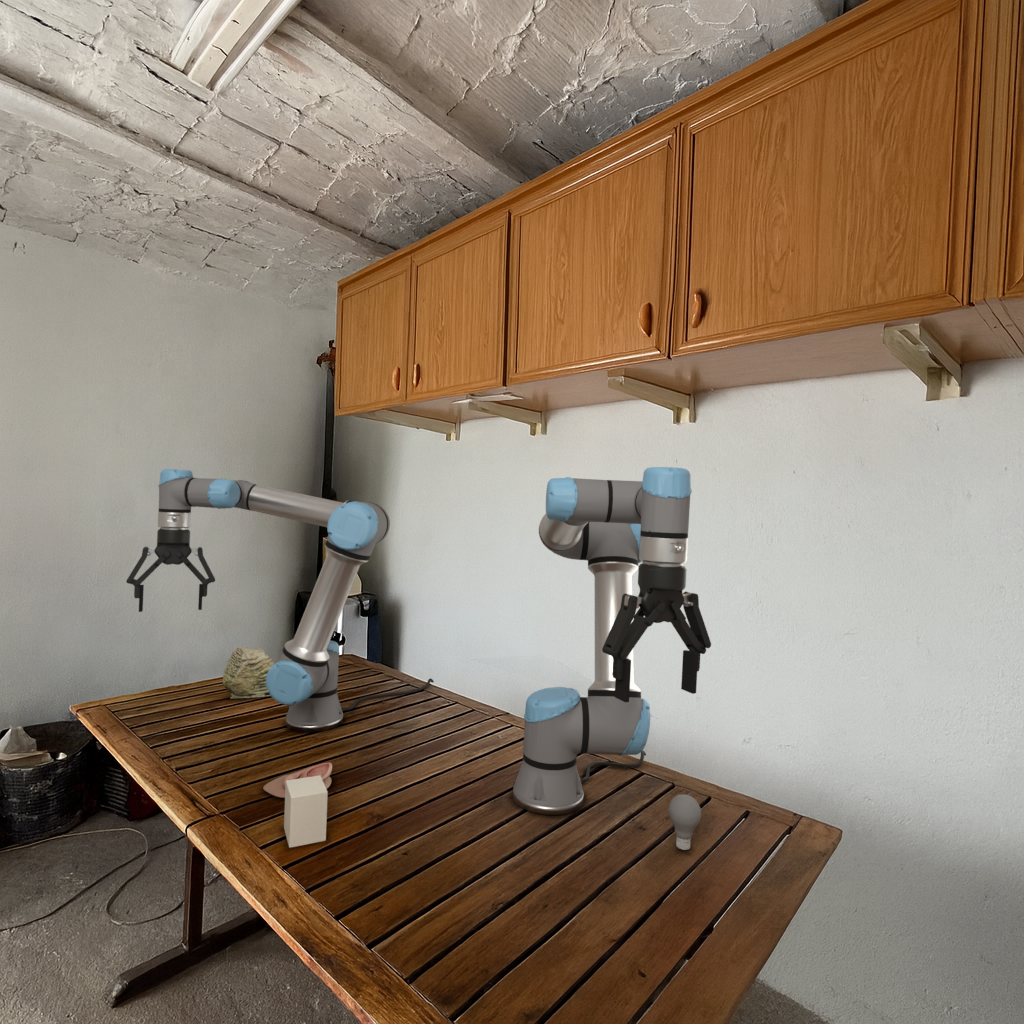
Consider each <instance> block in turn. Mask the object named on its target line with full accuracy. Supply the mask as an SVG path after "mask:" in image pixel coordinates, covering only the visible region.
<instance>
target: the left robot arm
mask: <svg viewBox="0 0 1024 1024" xmlns="http://www.w3.org/2000/svg"><path fill="white" fill-rule="evenodd" d="M195 507H196V508H197V507H198V508H207V509H208V508H209V509H210V508H211V509H218V510H220V509H223V510H225V509H232V508H235V509H241V510H246V511H251V512H256V513H257V512H258V513H261V514H265V515H270V516H274V517H279V518H283V519H288V520H292V521H297V522H301V523H305V524H310V525H315V526H319V527H322V528H323V527H324V528H326V529H327V534H328V535H327V537H326V540H325V543H324V547H325V551H326V552H327V554H326V557H325V559H324V562H323V565H322V567H321V569H320V572H319V575H318V577H317V579H316V582H315V584H314V586H313V590H312V592H311V595H310V597H309V599H308V601H307V604H306V607H305V610H304V612H303V614H302V617H301V619H300V622H299V625H298V627H297V630H296V631H295V635H294V636H293V638H292V639H290V640H288V641H286V642H285V644H284V646H283V648H282V650H281V654H280V656H279V657H278V661H277V662H274V663H275V664H274V665H273V666H272V667H271V668H270V670H269V671H268V673H267V676H266V687H267V690H268V691H269V693H270V695H271V696H270V697H271V698H272V699H273V700H274V701H275V702H277V703H279V704H280V705H284V706H289V708H288V711H287V713H286V715H285V726H286V728H287V729H289V730H291V731H294V732H295V731H296V732H301V733H316V732H325V731H329V730H332V729H335V728H337V727H339V726H340V725H342V723H343V722H344V713H343V711H344V712H345V711H351V710H353V709H354V708H355V707H356V705H357V704H359V703H360V702H363V701H368V700H370V699H371V700H372V699H377V698H383V697H392V696H400V695H406V694H407V695H408V694H412V693H416V692H419V691H423V690H425V689H427V688H428V687H429V685H430V684H431V683H434V681H435V680H434V679H432V678H431V677H430V678H429V679H428V680H427V682H426V684H425V685H423V686H421V687H417V688H413V689H409V690H404V691H393V692H384V693H377V694H372V695H367V696H363V697H360V698H357V699H356V700H355V701H354V702H353V703H352V704H351V705H350V706H341V702H340V699H339V695H338V682H339V662H340V661H339V660H340V659H339V657H340V645H339V643H338V642H337V641H335V640H331V639H332V637H333V634H334V631H335V629H336V626H337V624H338V621H339V619H340V616H341V615H342V614H341V613H342V612H343V609H344V606H345V604H346V602H347V599H348V597H349V594H350V592H351V589H352V586H353V584H354V581H355V579H356V576H357V574H358V572H359V569H360V567H361V565H363V564H365V563H368V562H369V560H370V558H371V556H372V553H373V550H374V548H375V546H376V544H379V543H381V542H382V541H384V539H385V538H387V535H388V533H389V531H390V527H391V520H390V516H389V514H388V512H387V510H386V509H384V508H383V506H381V505H379V504H378V503H375V502H371V501H356V500H355V501H354V500H349V499H347V500H345V501H344V502H342V501H337V500H332V499H327V498H324V497H318V496H313V495H309V494H304V493H299V492H295V491H290V490H285V489H279V488H276V487H271V486H266V485H262V484H256V483H254V482H251V481H248V480H242V479H239V480H234V479H228V478H204V477H203V478H201V477H200V478H199V477H194V476H193V471H192V470H189V469H177V468H176V469H174V468H164V469H162V470H161V471H160V473H159V483H158V511H157V527H158V528H159V529H158V530H157V536H156V547H148V546H143V548H142V552H141V556H140V558H139V559H138V561H137V563H136V564H135V566H134V567H133V569H132V571H131V572H130V574H129V575H128V577H127V579H126V581H125V582H126V583H127V584H128V585H133V587H134V589H133V590H134V591H133V597H134V599H138V613H141V612H142V613H143V611H144V588H145V587H144V584H142V583H143V582H145V580H146V579H147V578H148V577H149V576H151V574H152V573H154V571H155V570H156V569H158V567H159V566H160V565H161V564H164V565H166V566H167V565H182V564H183V565H185V567H187V568H188V570H189V571H190V572H191V573H192V574H193V575H194V576H195V577H196V578H197V579H198V580H199V581H200V583H199V584H198V606H197V607H198V608H197V610H198V611H202V610H203V598H204V597H207V596H208V586H209V584H211V583H215V582H216V578H215V576H214V574H213V572H212V570H211V568H210V566H209V564H208V562H207V561H206V558H205V556H204V551H203V547H202V546H197V547H194V548H193V547H192V548H191V546H190V545H191V542H190V541H191V530H190V529H189V528H190V527H191V525H192V523H191V520H192V508H195ZM153 553H154V554H155V555H156V556H157V559H156V560H155V561H154V562H153V563H152V564H151V565H150V566H149V567H148V568H147V569H146V570H145V571H144V572H143V573H142V574H140V576H139V577H138V578H137V579H135V577H136V576H137V574H138V572H140V569H141V568H142V566H143V565H144V563H145V561H146V560H147V557H150V556H151V555H152V554H153ZM192 553H193V555H194V556H195V557H198V560H199V562H200V564H201V566H202V567H203V570H204V571H205V574H206V575H207V577H208V578H206V577H205V576H204V575H203V574H202V573H201V572H200V571H199V569H197V567H196V566H195V565H194V564H193V563H192V562H191V560H190V559H188V557H189V556H190V555H191V554H192Z"/></svg>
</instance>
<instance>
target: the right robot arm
mask: <svg viewBox="0 0 1024 1024" xmlns="http://www.w3.org/2000/svg"><path fill="white" fill-rule="evenodd" d="M691 480H692V479H691V473H690V471H689V470H688V469H686V468H683V467H670V466H669V467H668V466H652V467H651V466H649V467H647V468H645V469H644V471H643V474H642V480H641V481H640V480H617V479H615V480H614V479H597V478H596V479H595V478H593V479H592V478H573V477H570V476H565V477H553V478H550V479H549V480H548V481H547V485H546V491H545V514H544V515H543V516H542V517H541V519H540V522H539V525H538V535H539V539H540V541H541V543H542V544H543V546H545V548H546V549H548V550H549V551H550V552H552V553H553V554H555V555H557V556H560V557H563V558H564V559H569V560H575V561H576V560H578V561H587V570H588V571H589V572H590V573H591V574H593V577H594V681H593V683H591V684H590V686H589V687H588V688H587V696H581V694H580V692H579V690H577V689H576V688H573V687H567V686H552V687H545V688H542V689H538V690H536V691H533V692H532V693H531V694H530V695H528V697H527V698H526V701H525V709H524V714H523V720H524V732H523V750H522V763H521V765H520V768H519V770H518V773H517V776H516V778H515V780H514V782H513V783H512V799H513V801H514V802H515V804H516V805H517V806H519V807H520V808H522V809H524V810H525V811H528V812H531V813H533V814H538V815H544V816H561V815H563V816H564V815H569V814H571V813H574V812H577V810H579V809H580V808H581V807H582V806H583V804H584V796H585V795H584V794H585V792H584V789H583V788H584V787H583V784H582V783H586V782H587V781H588V780H589V778H590V771H591V769H592V768H594V767H599V766H604V767H605V766H606V767H615V768H625V769H633V768H637V767H640V766H641V765H642V764H643V762H644V759H645V756H647V752H646V751H645V750H644V749H645V747H646V745H647V742H648V739H649V734H650V726H651V710H650V703H649V701H648V700H647V699H645V698H642V690H641V688H640V687H639V686H638V685H637V684H636V682H635V676H634V672H635V671H634V670H635V669H634V648H635V647H636V644H638V642H639V641H640V640H641V638H642V637H643V635H644V634H645V632H646V631H647V629H648V628H649V627H651V626H653V624H654V623H655V624H661V623H664V622H665V623H670V624H671V625H672V627H673V628H674V629H675V631H676V633H677V635H678V636H679V637H680V639H681V641H682V642H683V643H684V645H685V647H686V648H687V649H684V650H682V664H681V665H682V667H681V685H680V686H681V687H680V689H681V690H682V691H685V692H687V693H689V694H693V695H694V694H697V684H698V672H699V671H700V669H701V654H702V655H705V654H706V653H707V649H710V648H711V647H712V642H711V638H710V637H709V633H708V630H707V627H706V624H705V621H704V618H703V615H702V612H701V609H700V603H699V601H700V600H699V595H698V594H697V593H695V592H690V591H684V590H685V589H686V588H687V572H688V571H687V568H686V566H684V564H686V563H687V562H688V546H689V545H688V544H689V527H690V508H691V494H692V492H693V490H692V483H691ZM636 572H638V573H637V585H638V588H639V592H638V595H633V575H634V574H635V573H636ZM683 591H684V592H683ZM682 606H683V610H684V612H683V611H682V610H681V608H682ZM686 619H687V620H686ZM578 754H585V755H608V756H609V755H610V756H611V755H613V756H620V757H622V756H636V755H639V754H640V757H639V759H638V761H637V762H635V763H620V762H612V761H595V762H591V763H589V764H587V766H586V768H585V776H584V777H580V774H579V770H578V767H577V758H578V757H577V756H578Z"/></svg>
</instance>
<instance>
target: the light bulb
mask: <svg viewBox="0 0 1024 1024" xmlns="http://www.w3.org/2000/svg"><path fill="white" fill-rule="evenodd" d="M667 808H668V809H667V810H668V816H669V819H670V821H671V823H672V825H673V827H674V833H675V835H676V837H675V838H676V841H675V842H676V843H675V846H676V848H678V849H679V850H682V851H687V850H690V849H691V840H692V839H691V838H692V837H693V835H694V830H695V829H696V827H697V826H698V825H699V823H700V821H701V818H702V809H701V806H700V804H699V803H698V801H697V800H696V798H694V797H693V796H692V795H689V794H684V793H683V794H678V795H676V796H674V797H673V798H672V799H671V800H670V802H669V804H668V807H667Z"/></svg>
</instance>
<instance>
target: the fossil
mask: <svg viewBox="0 0 1024 1024" xmlns="http://www.w3.org/2000/svg"><path fill="white" fill-rule="evenodd" d="M275 663H276V662H274V660H273V659H272V658H271V657H270V656H269V655H268V654H267V653H266V652H265V650H264V649H263V648H260V647H258V648H251V647H247V646H246V647H245V646H238V647H237V648H236V649H235V650H233V651H232V653H231V656H230V657H229V659H228V660H227V663H226V666H225V668H224V671H223V675H222V676H223V677H222V685H223V687H224V688H225V690H226V691H228V693H229V698H230V699H250V698H264V697H271V695H270V693H269V691H268V690H267V687H266V676H267V673H268V671H269V670H270V668H271V667H272V666H273V665H274V664H275Z"/></svg>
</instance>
